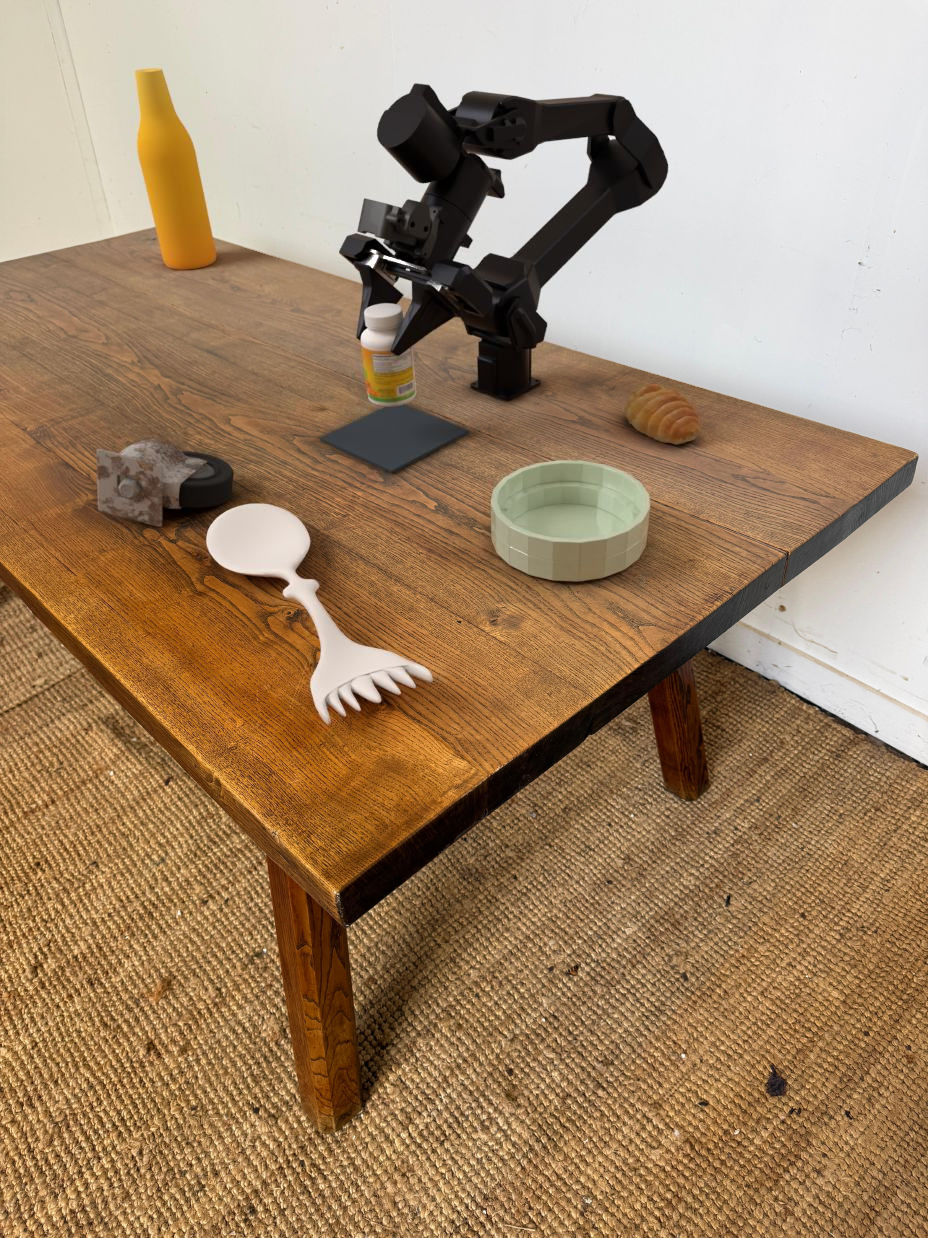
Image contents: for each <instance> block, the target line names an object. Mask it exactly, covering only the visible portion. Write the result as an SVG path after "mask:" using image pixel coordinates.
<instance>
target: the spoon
mask: <svg viewBox="0 0 928 1238" xmlns="http://www.w3.org/2000/svg"><path fill="white" fill-rule="evenodd" d="M205 539H206V540H205V541H206V542H205V543H206V547H207V550H208V553H209V554H210V556H211V557H212V558H213V560H214V561H215V562H217V563H218V564H219V565H220V566H221V567H223V568H224V569H226V570H229V571H231V572H234V573H236V574H240V575H244V576H245V575H246V576H252V577H265V578H277V579H282V580H283V581H286V582H287V583H288V585H287V586H286V587H285V588H284V589H283V591H282V595H283V597H284V598H285V599H287V600H294V601H297V602H298V603H300V604H301V605H302V606H303V607H304V608H305V609H306V611H307V612H308V614H309V616H310V618H311V619H312V621H313V623H314V626H315V629H316V632H317V635H318V639H319V642H320V643H319V644H320V655H319V661H318V663H317V666H316V668H315V669H314V671H313V673H312V675H311V677H310V682H309V687H310V692H311V696H312V699H313V704H314V706H315V709H316V711H317V713H318V714H319V716H320V718H321V719H322V721H323V722H324V723H325V724H326V725H328V726H330V725H331V722H332V721H331V716H330V713H329V711H328V708H329V706H330V707H331V708H333V709H334V711H336V712H337V713H338V714H340V715H341V716H342V717H345V718H346V716H347V712H346V710H345V708H344V706H343V704H342V703H341V700H343V701H344V702H345V703H346V704H347V705H349V706H350V707H351V708H352V709H354V710H355V711H357V712H361V710H362V708H361V706H360V703H359V702H358V701H357V699H356V697H355V695H354V694H353V693H355V694H357V695H358V696H359V697H362V698H364V699H366V700H367V701H369V702H370V703H371V702H372V703H374V704H380V703H381V702H382V696H381V695H380V692H379V691H378V690H377V688H376V686H378V687H380V688H382V689H385V690H387V691H388V692H390V693H393V694H395V695H396V696H397V695H398V696H401V694H402V692H401V690H400V688H399V687H398V685H397V684H396V683H395V682H397V683H399V684H402V685H405V686H407V687H409V688H411V689H416V683H415V682H414V680H413V678H412V677H416V678H418V679H421V680H423V681H425V682H428V683H433V682H434V677H433V675H432V673H431V671H430V670H429V668H427V667H426V666H424V665H421V664H419V663H416V662H414V661H411V660H408V659H406V658H405V657H403V656H401V655H399V654H396V653H395V652H393V651H390V650H387V649H380V648H377V647H371V646H367V645H363V644H360V643H357V642H355V641H353V640H352V639H350V638H349V637H347V636H346V634H344V633H343V631H341V630H340V628H339V626H338V625H337V624H336V623H335V621H334V620H333V619H332V617H331V616H330V614H329V613H328V611H327V610H326V609H325V607H324V606H323V604H322V603H321V601H320V600H319V598H318V597H317V593H316V592H317V591H318V589H320V584H319V582H318V581H317V580H316V579H311V578H308V579H307V578H302V577H301V576H299V575H298V574H297V572H296V570H297V569H298V567H299V566H300V565H301V563H302V562H303V560H304V559H305V557H306V555H307V554H308V552H309V549H310V546H311V537H310V534H309V532H308V530H307V528H306V527H305V525H304V523H303V522H302V521H301V520H300V519H299V518H298V517H297V516H296V515H295V514H293V513H292V512H290V511H288V510H287V509H284V508H282V507H279V506H276V505H274V504H269V503H247V504H241V505H238V506H235V507H232V508H230V509H228V510H226V511H224V512H223V513H221V514H220V515H218V516H217V517H216V518H215V519H214V521H212V522H211V524H210V526H209V528H208V530H207V533H206V537H205ZM375 685H376V686H375ZM340 699H341V700H340Z"/></svg>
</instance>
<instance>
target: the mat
mask: <svg viewBox="0 0 928 1238" xmlns="http://www.w3.org/2000/svg"><path fill="white" fill-rule="evenodd" d="M469 434H470V430H469V429H467V428H464V427H462V426H460V425H457V424H454V423H452V422H450V421H447V420H444V419H441V418H439V417H436V416H434V415H431V414H429V413H427V412H424V411H421V410H419V409H416V408H414V407H411V406H408V405H407V404H404V405H400V406H395V407H382V408H380V409H378V410H376V411H373V412H372V413H369V414H367V415H365V416H363V417H361V418H359V419H357V420H355V421H352V422H350V423H348V424H346V425H344V426H342V427H340V428H337V429H335V430H333V431H331V432H328V433H326V434H324V435H322V436H320V437H319V441H321V442H323V443H325V444H327V445H329V446H331V447H333V448H336V449H338V450H340V451H342V452H344V453H346V454H348V455H351V456H353V457H354V458H357V459H360V460H362V461H363V462H366V463H368V464H370V465H373V466H375V467H376V468H379V469H381V470H383V471H386V472H387V473H390V474H394V473H396V472H398V471H400V470H402V469H403V468H406V467H408V466H410V465H412V464H413V463H416V462H417V461H420V460H421V459H423V458H425V457H426V456H429V455H431V454H432V453H435V452H436V451H439V450H440V449H442V448H444V447H445V446H448V445H450V444H452V443H454V442H455V441H457V440H459V439H461V438H463V437H465V436H467V435H469Z"/></svg>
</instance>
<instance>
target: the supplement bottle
mask: <svg viewBox="0 0 928 1238" xmlns="http://www.w3.org/2000/svg"><path fill="white" fill-rule="evenodd" d="M364 317H365V325H366V327H368V328H367V329H366V330H364V332H363V333H362V335H361V341H360V348H361V355H362V364H363V370H364V378H365V387H366V394H367V398H368V401H369V402H370V403H372V404H373V405H375V406H377V407H382V408H384V407H395V406H400V405H407V404H408V403H411V402H412V401H413V400H414V399H415V398H416V396H417V385H416V384H417V383H416V374H415V373H416V372H415V362H414V349H413V346H412V347H410V348H409V349H408V350H406V351H405V352H404V353H402V354H401V355H400V356H396V355H394V354H393V353H392V352H391V347H392V345H393V342H394V339H395V337H396V334H397V332H398V330H399V328H400V326H401V324H402V321H403V319H404V313H403V308H402V306H401V305H399V304H398V303H397V304H391V303H383V304H376V305H373V306H370V307H368V308H367V309H365V311H364Z"/></svg>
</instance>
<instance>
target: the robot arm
mask: <svg viewBox="0 0 928 1238" xmlns="http://www.w3.org/2000/svg"><path fill="white" fill-rule="evenodd" d="M379 118H380V119H379V121H378V123H377V128H376V137H377V141H378V142H379V144H380V145H381V146H382V148H384V149H385V151H386V152H387V153H388V154H389V155H390V156H391V157H392V158H393V159H394V160H395V161H396V162H397V163H398V164H399V165H400V167H402V169H404V170H405V172H407V174H408V175H409V176H410V177H411V178H412V179H413V180H414V181H415V182H417V183H419V184H428V185H427V187H426V189H425V191H424V193H423V195H422V197H421V199H420V201H418V200H413V199H408V198H407V199H406V200H405V202H404V203H403V204H402V206H397V205H393V204H390V203H385V202H382V201H378V200H373V199H370V198H363V202H362V207H361V212H360V216H359V221H358V225H357V230H356V232H355V233H352V234H349V235H346V236H345V239H344V241H343V242H342V244H341V247H340V248H339V250H338V253H339V255H340V256H342V257H343V258H344V259H345V260H346V261H348V262H349V263H350V264H351V265H352V266H354V268H355V269H356V270H357V271H358V273H359V276H360V279H361V283H362V293H361V303H360V309H359V317H358V323H357V328H356V336H355V337H356V339H357V340H358V341H359V342H361V335H362V333H363V332H364V330H366V329H367V328H368V327H366V325H365V317H364V311H365V309H367V308H368V307H370V306H373V305H376V304H383V303H391V304H397V305H398V303H399V302H400V301H401V299H402V298H403V297H404V293H403V292H401V291H400V290H399V289H398V288H397V287H395V284H396V283H397V282H398V281H399V279H403V280H407V281H410V282H411V302H410V304H409V307H408V309H407V311H406V313H405V314H404V316H403V321H402V324H401V326H400V328H399V330H398V332H397V334H396V337H395V339H394V342H393V345H392V347H391V352H392V353H393V354H394V355H396V356H400V355H401V354H402V353H404V352H405V351H406V350H408V349H409V348H410V347H412V348H413V346H415V345H416V344H417V343H419V342H420V341H421V340H423V339H424V338H425V337H426V336H428V335H429V334H431V333H432V332H434V331H436V330H437V329H438V328H440V327H441V326H443V325H445V324H447V323H448V322H450V321H451V320H453V319H454V318H460V320H461V322H462V323H463V325H464V328H465V331H466V334H467V335H468V336H473V337H476V338H479V339H480V341H478V342H477V345H478V350H477V351H478V355H477V357H476V364H477V366H476V367H477V368H476V369H477V379H476V380H473V382H470V385H469V387H470V389H472V390H475V391H478V392H481V393H484V394H486V395H489V396H492V397H494V398H497V399H499V400H502V401H505V402H507V401H508V402H509V401H512V400H514V399H516V398H519V397H520V396H522V395H524V394H526V393H528V392H530V391H531V390H533V389H535V388H537V387H539V386H541V385H542V380H541V379H540V378H537V377H533V376H532V353H533V352H532V350H534V349H536V348H537V345H539V344H540V343H542V342H544V340H545V336H546V333H547V328H548V322H547V320H545V319H544V318H543V316H541V315H540V314H539V312H537V310H538V308H539V304H540V303H539V302H540V297H541V293H542V289H543V287H545V285H546V284H547V283H548V282H549V281H551V279H553V277H554V276H555V275H556V274H557V273H558V272H559V271H560V270H561V269H562V268H563V267H564V266H565V265H566V264H567V263H568V262H570V260H571V259H572V258H573V257H574V256H575V255H576V254H577V253H578V252H579V251H580V250H581V249H582V248H583V247H584V246H585V245H586V244H587V243H588V242H589V241H590V240H591V239H592V238H593V237H594V236H596V234H597V233H598V232H599V231H600V230H601V229H602V228H603V227H604V226H605V225H606V224H607V223H608V222H609V221H610V220H611V219H612V218H613V217H614V216H615V215H617V214H620V213H623V212H626V211H629V210H632V209H635V208H638V207H641V206H642V205H643V204H645V203H647V202H648V201H649V200H650V199H652V198H653V197H655V196H656V195H657V194H658V193H659V192H660V190H661V189H662V188H663V186H664V184H665V182H666V180H667V178H668V174H669V162H668V159H667V157H666V154H665V151H664V150H663V147H662V145H661V143H660V140H659V138H658V137H657V135H656V134H655V133H654V132H653V131H652V129H650V128H649V126H647V124H645V122H643V121H642V119H640V117H638V115H637V113H636V111H635V109H634V107H633V104H632V103H631V101H630V99H626V97H625V96H622V95H614V94H605V93H593V94H591V95H589V96H577V97H562V98H548V99H547V98H546V99H532V98H527V97H523V96H519V95H514V94H513V95H512V94H504V93H495V92H494V93H493V92H488V91H478V90H472V91H468V92H466V93H465V94H463V95H462V96H461V100H460V103H459V104H458V105H457V106H455V107H452V108H450V109H447V107H445V105H444V104H443V103H442V102H441V100H440V99H439V97H438V95H437V92H436V91H435V90H434V89H433V87H432V86H431V85H430V84H425V83H418V82H417V83H413V85H412V86H411V89H410V91H409V93H406V94H404V95H402V96H401V97H399V98H398V99H396V100H395V101H394V102H393V103H392V104H391V105H390V106H389V108H388V109H385V110H384V111H383V113H382V114H381V116H380V117H379ZM610 137H614V138H612V139H610ZM582 138H583V139H585V138H587V140H586V141H587V143H586V155H587V157H588V160H589V161H590V164H589V168H588V174H587V178H586V179H587V181H586V183H585V185H584V186H583V187H582V188H580V190H578V191H577V192H576V193H575V194H574V195H573V196H572V197H571V198H570V199H569V200H568V201H567V202H566V203H565V204H564V205H563V206H562V207H561V208H560V209H559V210H558V211H557V212H555V214H554V215H553V216H552V217H551V218H550V219H549V220H548V221H546V223H545V224H544V225H543V226H542V227H540V228H539V230H538V231H537V232H535V234H534V235H532V236H531V237H530V238H529V240H527V242H526V243H525V244H523V245H522V246H521V247H520V248H519V249H518V250H517V251H516V252H515V253H514V254H513V255H512V256H510V257H507V256H503V255H499V254H497V253H492V252H489V253H488V254H486V255H485V256H483V257H482V259H481V260H480V261H479V263H478V264H477V265H476V266H475V267H474V268H473V267H472V266H471V265H469V264H467V263H464V262H459V261H456V260H455V257H456V256H457V253H458V252H459V250H460V248H465V249H470V247H471V245H472V244H473V241H474V239H473V238H472V237H471V236H470V235H469V234H468V233H469V231H470V229H471V227H472V225H473V223H474V221H475V219H476V217H477V215H478V214H479V212H480V209H481V207H482V206H483V204H484V201H485V200H486V198H487V197H491V198H497V199H501V200H502V199H504V198H505V196H506V192H505V185H504V182H503V179H502V170H501V169H499V168H494V167H489V166H488V164H487V163H486V162H485V161H484V160H483V159H482V157H481V156H485V157H489V158H495V159H500V160H508V161H512V160H515V159H518V158H520V157H523V156H525V155H529V154H530V153H533V152H534V151H535V150H536V148H537V147H538V146H539V145H541V144H544V143H548V142H556V141H564V140H565V141H566V140H574V139H582ZM367 233H368V234H371V235H374V237H371V236H367V235H366V234H367ZM378 238H379V239H382V240H383V242H382V243H383V244H382V243H381V242H380V241H379V240H378ZM391 250H392V251H393V252H394V254H393V252H391Z"/></svg>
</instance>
